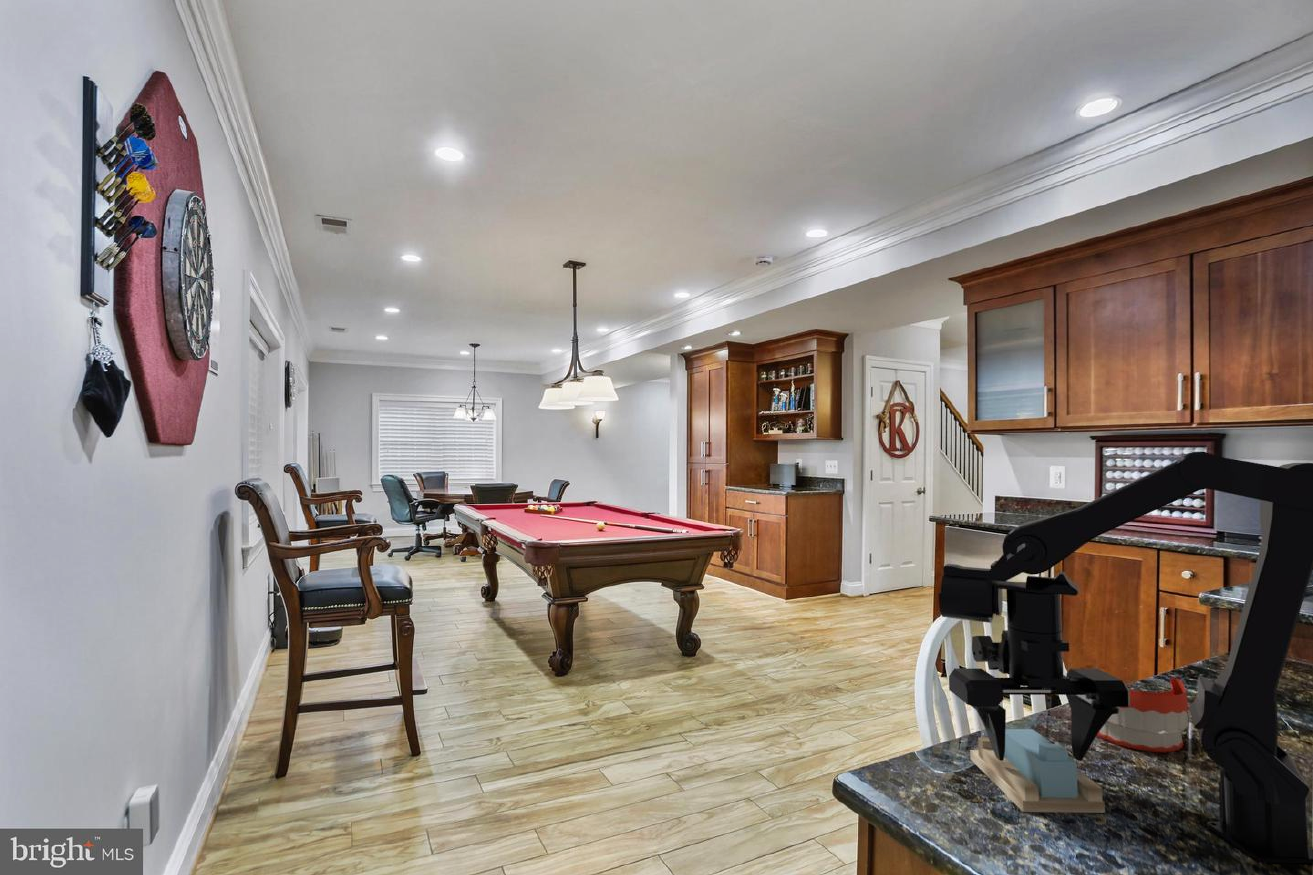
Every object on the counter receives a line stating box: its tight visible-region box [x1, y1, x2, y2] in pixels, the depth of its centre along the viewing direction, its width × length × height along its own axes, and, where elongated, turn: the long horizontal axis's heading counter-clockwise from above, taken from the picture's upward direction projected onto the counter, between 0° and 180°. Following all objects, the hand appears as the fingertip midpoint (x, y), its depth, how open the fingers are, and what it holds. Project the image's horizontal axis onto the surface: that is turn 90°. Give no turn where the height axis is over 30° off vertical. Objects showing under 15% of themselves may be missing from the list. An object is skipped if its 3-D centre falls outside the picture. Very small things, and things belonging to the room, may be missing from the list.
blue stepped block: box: [1004, 728, 1078, 798], centre depth 78 cm, size 9×4×5 cm, turn 178°
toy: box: [1079, 667, 1189, 754], centre depth 91 cm, size 12×10×8 cm
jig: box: [969, 736, 1106, 814], centre depth 79 cm, size 13×9×4 cm
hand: (1038, 759), depth 78 cm, fingers open, 9 cm apart
